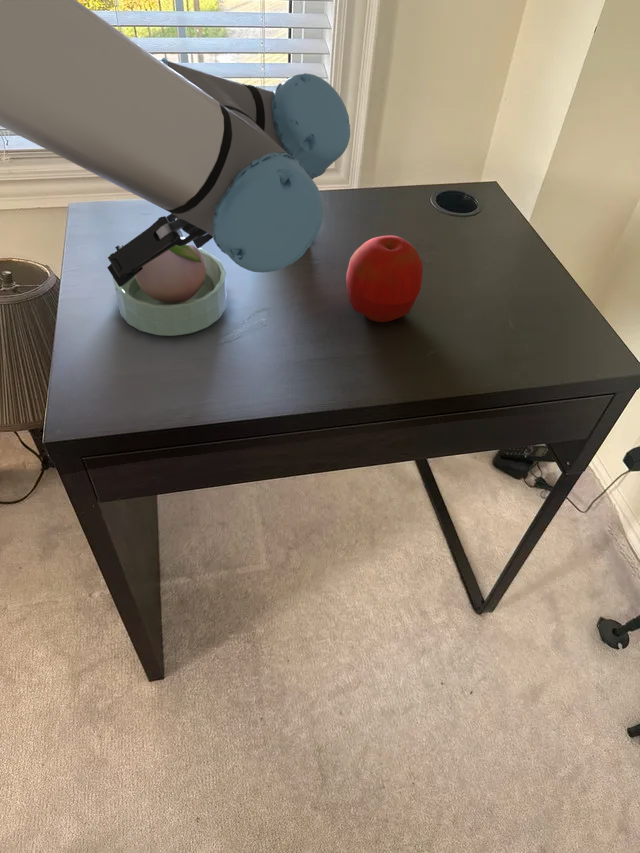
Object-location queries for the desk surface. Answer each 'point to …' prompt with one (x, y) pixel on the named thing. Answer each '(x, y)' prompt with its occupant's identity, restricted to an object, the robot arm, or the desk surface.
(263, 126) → the robot arm
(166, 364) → the desk surface
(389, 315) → the apple
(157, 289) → the decorative fruit
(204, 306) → the bowl
